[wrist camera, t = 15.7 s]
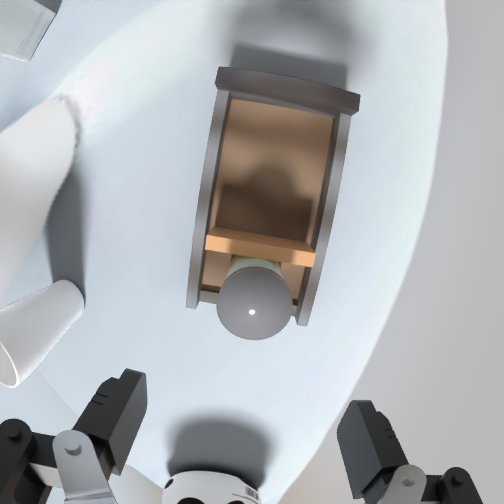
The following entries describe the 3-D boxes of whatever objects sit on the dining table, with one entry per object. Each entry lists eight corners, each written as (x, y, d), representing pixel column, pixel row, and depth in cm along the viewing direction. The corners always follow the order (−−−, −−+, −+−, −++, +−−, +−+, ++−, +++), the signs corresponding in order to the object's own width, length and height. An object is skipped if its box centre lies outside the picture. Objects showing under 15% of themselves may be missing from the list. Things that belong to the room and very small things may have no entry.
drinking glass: (88, 276, 30) (5, 336, 15) (93, 327, 32) (27, 398, 17) (47, 268, 30) (-35, 316, 15) (54, 316, 32) (-15, 374, 17)
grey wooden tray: (224, 84, 25) (218, 66, 20) (343, 107, 25) (360, 94, 20) (191, 295, 30) (180, 316, 25) (302, 313, 31) (310, 336, 26)
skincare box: (36, 13, 21) (-23, -19, 6) (59, 13, 21) (-4, -27, 7) (9, 62, 22) (-59, 42, 8) (29, 65, 23) (-45, 40, 9)
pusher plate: (213, 226, 27) (206, 235, 23) (307, 242, 28) (315, 253, 24) (212, 238, 28) (204, 249, 24) (304, 254, 28) (312, 267, 24)
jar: (231, 238, 28) (221, 265, 20) (286, 247, 29) (300, 278, 20) (224, 289, 30) (212, 333, 21) (276, 298, 30) (284, 344, 21)
